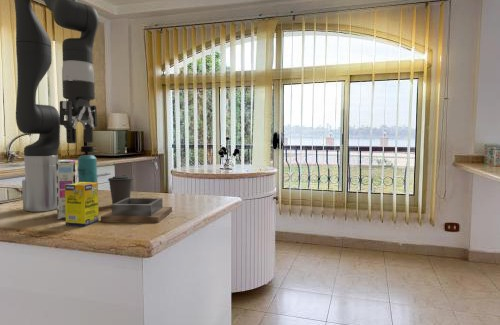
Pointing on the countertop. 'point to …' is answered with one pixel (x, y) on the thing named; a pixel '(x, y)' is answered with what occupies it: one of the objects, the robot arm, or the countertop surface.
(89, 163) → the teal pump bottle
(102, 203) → the countertop surface
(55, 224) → the countertop surface
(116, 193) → the coffee cup
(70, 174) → the candy bar box
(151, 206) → the caddy
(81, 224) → the supplement box
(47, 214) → the countertop surface
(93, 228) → the countertop surface
